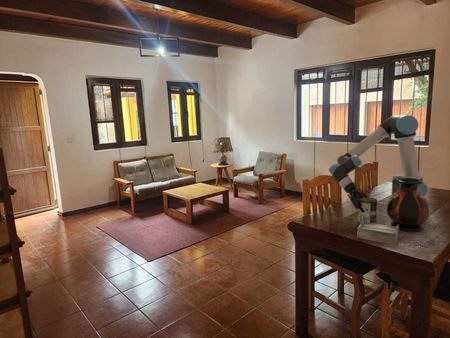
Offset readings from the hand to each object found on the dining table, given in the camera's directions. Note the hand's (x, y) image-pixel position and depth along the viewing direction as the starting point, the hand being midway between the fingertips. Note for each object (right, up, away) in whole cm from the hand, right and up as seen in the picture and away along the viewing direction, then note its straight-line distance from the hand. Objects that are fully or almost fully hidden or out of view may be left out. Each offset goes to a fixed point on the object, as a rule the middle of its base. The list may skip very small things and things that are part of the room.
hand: (372, 214), depth 180 cm
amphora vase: (+16, -7, -8) cm, 19 cm away
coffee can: (-2, -5, +3) cm, 6 cm away
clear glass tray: (-6, -9, -18) cm, 21 cm away
